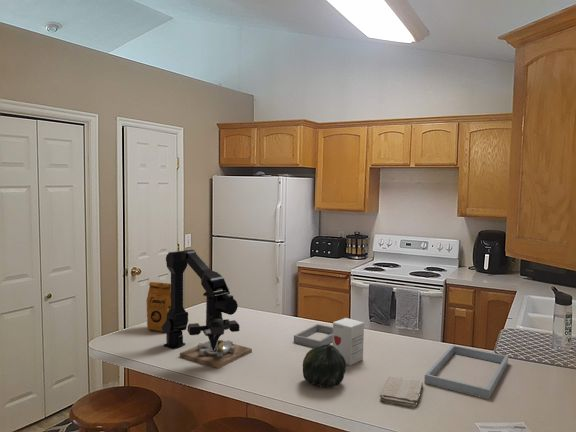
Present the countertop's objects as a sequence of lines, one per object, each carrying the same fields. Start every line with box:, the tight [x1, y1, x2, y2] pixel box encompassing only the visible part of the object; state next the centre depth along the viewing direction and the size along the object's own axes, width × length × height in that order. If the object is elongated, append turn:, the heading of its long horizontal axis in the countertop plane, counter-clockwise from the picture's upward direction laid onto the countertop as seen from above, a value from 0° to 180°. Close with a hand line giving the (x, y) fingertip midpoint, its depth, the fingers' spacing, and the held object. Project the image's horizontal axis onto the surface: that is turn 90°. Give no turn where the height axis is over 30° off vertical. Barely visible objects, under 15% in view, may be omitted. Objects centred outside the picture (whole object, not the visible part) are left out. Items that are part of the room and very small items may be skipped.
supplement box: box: [331, 317, 365, 366], centre depth 185 cm, size 9×9×15 cm
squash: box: [302, 343, 347, 389], centre depth 163 cm, size 14×15×15 cm
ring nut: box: [196, 339, 235, 358], centre depth 188 cm, size 14×17×7 cm
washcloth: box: [379, 375, 424, 408], centre depth 157 cm, size 12×18×3 cm, turn 159°
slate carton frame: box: [423, 344, 509, 400], centre depth 174 cm, size 21×36×3 cm, turn 147°
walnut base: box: [179, 341, 253, 369], centre depth 189 cm, size 20×20×2 cm
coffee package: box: [146, 281, 171, 333], centre depth 218 cm, size 10×12×22 cm
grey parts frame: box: [293, 323, 333, 348], centre depth 209 cm, size 13×20×3 cm, turn 147°
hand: (213, 349), depth 180 cm, fingers closed
